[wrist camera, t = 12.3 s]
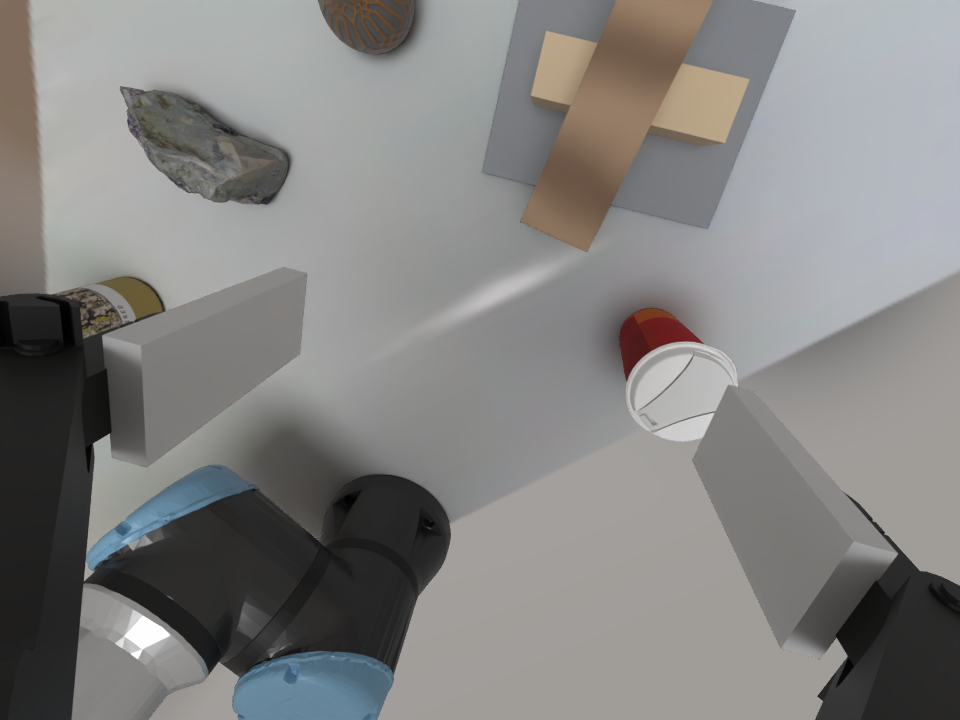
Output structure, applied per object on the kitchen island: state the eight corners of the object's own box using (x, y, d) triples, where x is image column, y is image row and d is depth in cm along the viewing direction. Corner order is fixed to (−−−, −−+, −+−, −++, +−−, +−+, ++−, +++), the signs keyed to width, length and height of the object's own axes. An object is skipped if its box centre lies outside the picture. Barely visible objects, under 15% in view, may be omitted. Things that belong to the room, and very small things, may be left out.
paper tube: (155, 274, 52) (-159, 360, 29) (174, 335, 55) (-102, 459, 32) (100, 276, 53) (-246, 361, 30) (120, 336, 56) (-185, 457, 33)
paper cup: (636, 386, 49) (665, 465, 36) (592, 327, 48) (606, 387, 35) (708, 343, 47) (767, 411, 34) (664, 279, 45) (708, 324, 32)
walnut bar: (583, 241, 38) (587, 252, 34) (524, 215, 38) (520, 222, 34) (751, -100, 30) (788, -149, 25) (676, -135, 30) (699, -191, 25)
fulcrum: (704, 227, 43) (731, 238, 37) (483, 172, 44) (471, 173, 38) (790, 14, 37) (840, -18, 30) (531, -46, 38) (526, -89, 31)
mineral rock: (142, 105, 46) (38, 90, 37) (227, 41, 43) (137, 7, 34) (223, 233, 50) (147, 248, 40) (307, 182, 47) (246, 186, 37)
